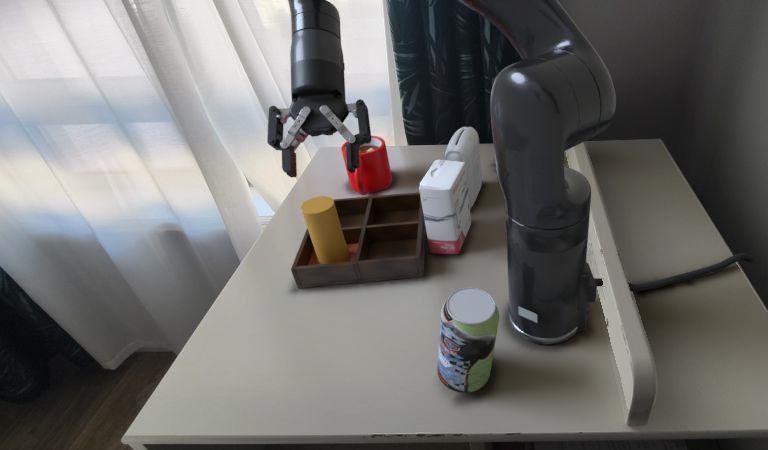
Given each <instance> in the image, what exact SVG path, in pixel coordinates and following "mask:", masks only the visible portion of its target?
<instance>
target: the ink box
mask: <svg viewBox="0 0 768 450" xmlns="http://www.w3.org/2000/svg"><path fill="white" fill-rule="evenodd" d="M418 190H419V191H418V192H420V197H421V202H422V208H423V213H424V219H425V225H426V236H427V243H428V248H429V252H430V253H432V254H443V255H459V254H460V252H461V250H462V247H463V245H464V242H465V240H466V237H467V235H468V232H469V230H470V228H471V225H472V217H471V209H470V205H469V195H468V184H467V173H466V163H465V162H460V161H448V160H445V159H435V160H434V161H433V163H432V164H431V166H430V167H429V169H428V170H427V172H426V173H425V175H424V176H423V178H422V179H421V181H420V182H419V187H418Z"/></svg>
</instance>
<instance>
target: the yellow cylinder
mask: <svg viewBox="0 0 768 450" xmlns="http://www.w3.org/2000/svg"><path fill="white" fill-rule="evenodd" d="M300 211H301V213H302V216H303V220H304V222H305V226H306V229H307V228H308V231H309V234H310V237H311V240H312V243H313V246H314V249H315V252H316V255H317V258H318V261H319V264H329V263H340V262H348V261H349V259H350V256H349V252H348V249H347V245H346V242H345V238H344V235H343V231H342V228H341V224H340V221H339V217H338V214H337V210H336V207H335V203H334V200H333V198H332V197H330V196H326V195H320V196H319V195H318V196H314V197H312V198H308V199H307V200H305V201H304V202H303V203H302V204H301V206H300Z"/></svg>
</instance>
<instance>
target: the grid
mask: <svg viewBox="0 0 768 450" xmlns="http://www.w3.org/2000/svg"><path fill="white" fill-rule="evenodd" d="M332 199H333V198H332ZM333 200H334V203H335V207H336V210H337V214H338V217H339V221H340V224H341V228H342V231H343V235H344V238H345V242H346V245H347V249H348V252H349V256H350V259H349V261H348V262H340V263H329V264H319V261H318V258H317V255H316V252H315V249H314V246H313V243H312V240H311V237H310V234H309V231H308V228H307V227H306V230H305V231H304V235H303V236H302V237H303V238H302V240H301V242H300V245H299V248H298V250H297V252H296V255H295V258H294V260H293V262H292V265H291V268H290V271H291V274H292V276H293V279H294V281H295V284H296V287H297V289H307V288H319V287H328V286H339V285H340V286H341V285H349V284H350V285H351V284H361V283H363V284H364V283H372V282H381V281H382V282H385V281H393V280H404V279H405V280H406V279H415V278H424V271H425V270H424V269H425V252H426V251H425V249H426V235H427V231H426V225H425V219H424V213H423V208H422V202H421V197H420V191H416V192H404V193H394V194H393V193H392V194H382V195H370V196H369V195H368V196H357V197H347V198H335V199H333Z"/></svg>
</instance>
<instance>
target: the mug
mask: <svg viewBox="0 0 768 450" xmlns="http://www.w3.org/2000/svg"><path fill="white" fill-rule="evenodd" d="M371 139H372V140H371V142H370V143H368V144H367V143H365V144H362V145H361V146H360V147H359V164H360V165H359V168H356V172H355V173H350V172H349V171H348V169H347V157H346V145H348V142H347V141H345V142H344V143H343V144H342V145H341V148H340V150H341V154H342V158H343V162H344V166H345V169H346V173H347V177H348V181H349V186H350V188H351V190H352V191H353V192H357V193H359V194H360V195H361V196H363V197H366V196H367V195H368V194H371V193H376V192H379V191H383V190H384V189H386V188H388V187H389V186H390V185H391V184H393V183H392V182H393V175H392V172H391V165H390V160H389V155H388V150H387V145H386V141H385V139H383V138H382V137H380V136H376V135H371Z"/></svg>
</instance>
